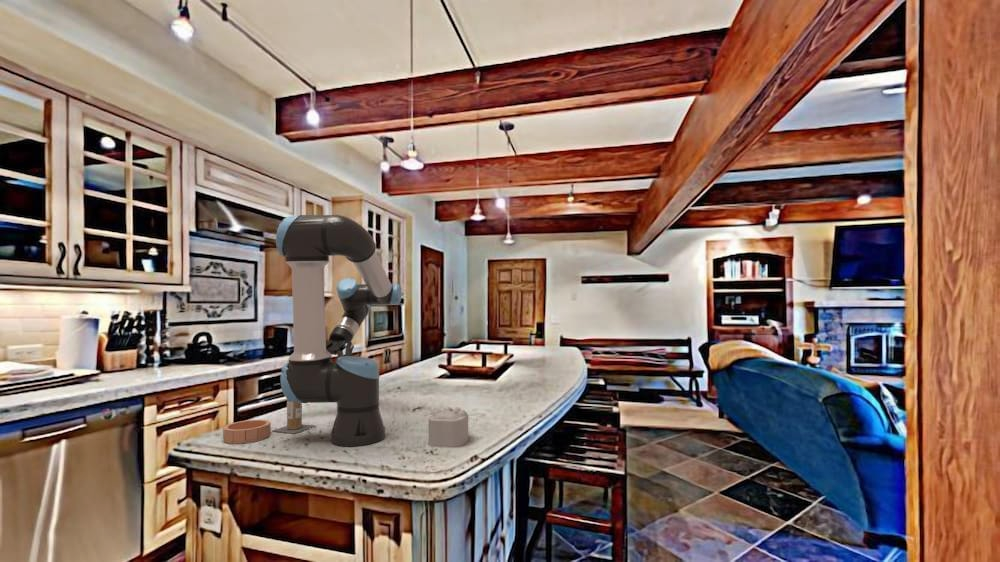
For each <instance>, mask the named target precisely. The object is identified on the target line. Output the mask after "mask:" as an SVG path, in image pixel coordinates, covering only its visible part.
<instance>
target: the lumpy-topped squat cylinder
mask: <svg viewBox="0 0 1000 562" xmlns="http://www.w3.org/2000/svg"><path fill="white" fill-rule="evenodd" d="M468 441H469V414H468V412H467V411H466V410H464V409H461V408H460V407H457V406H456V407H455V408H452V407H450V406H446V407H445V408H444V409H443V410H441V409H439V408H436V409H434V410H433V411H432V413H431V415H430V416H429V417H428V445H429V446H430V447H434V448H435V447H436V448H441V447H442V448H443V447H444V448H458V447H462V446H464V445H465V444H466V443H467V442H468Z"/></svg>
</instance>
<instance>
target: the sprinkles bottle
mask: <svg viewBox="0 0 1000 562" xmlns="http://www.w3.org/2000/svg"><path fill="white" fill-rule="evenodd" d="M302 416H303V403H297V402H291V401H289V400H288V399H287V398H286V426H287V429H289V430H295V429H299V428H301V427H302V424H303V423H302V422H303V419H302Z"/></svg>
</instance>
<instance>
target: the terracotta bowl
mask: <svg viewBox="0 0 1000 562" xmlns="http://www.w3.org/2000/svg"><path fill="white" fill-rule="evenodd" d="M271 425H272V422H271V421H269V420H267V419H249V420H240V421H236V422H232V423H228V424H226V425H225V426H223V428H222V438H223V443H224V442H225V443H224V444H227V443H228V444H229V445H243V444H244V443H245V444H251V442H252V443H256V442H255V441H257V442H260V441H263V440H265V438H266V439H267V437H268V438H269V437H270V435H271V433H272V429H271V427H272V426H271ZM262 439H263V440H262ZM259 440H260V441H259Z"/></svg>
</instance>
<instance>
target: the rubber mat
mask: <svg viewBox="0 0 1000 562" xmlns="http://www.w3.org/2000/svg"><path fill="white" fill-rule="evenodd" d="M315 426H316V425H312V424H304V423H302V427H301V428H299V429H295V430H289V429H287V425H285V426H282V427H279V428H276V429H271V432H272V431H273V433H279V432H283V433H282V434H287V433H292V434H291V435H296V434H295V433H297V434H300V433H302V432H305V431H308V430H310V429H309V428H311V429H313V428H312V427H314V428H316V427H315ZM307 429H308V430H307ZM304 430H305V431H304ZM301 431H302V432H301ZM284 432H285V433H284ZM299 432H300V433H299Z"/></svg>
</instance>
